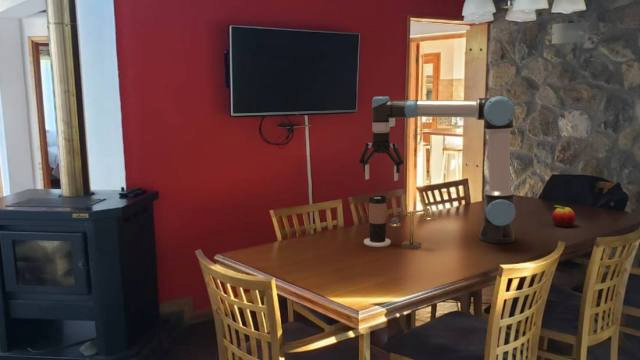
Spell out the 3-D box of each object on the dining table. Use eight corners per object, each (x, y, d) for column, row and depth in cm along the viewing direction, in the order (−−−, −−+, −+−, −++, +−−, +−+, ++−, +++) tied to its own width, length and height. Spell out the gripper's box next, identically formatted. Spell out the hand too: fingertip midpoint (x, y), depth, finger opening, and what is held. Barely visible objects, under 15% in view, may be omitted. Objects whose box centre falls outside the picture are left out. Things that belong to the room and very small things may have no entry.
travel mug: (385, 243, 250) (385, 198, 247) (368, 242, 252) (368, 198, 249) (386, 238, 258) (386, 195, 254) (369, 238, 259) (369, 195, 256)
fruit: (568, 229, 273) (569, 209, 271) (547, 226, 281) (548, 206, 280) (579, 226, 280) (580, 206, 278) (557, 222, 288) (558, 203, 286)
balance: (436, 248, 245) (436, 207, 243) (432, 251, 240) (432, 210, 237) (391, 243, 255) (391, 203, 252) (386, 246, 249) (387, 206, 247)
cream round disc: (394, 241, 257) (394, 238, 257) (384, 248, 247) (384, 245, 247) (369, 238, 263) (369, 236, 263) (359, 245, 252) (359, 242, 252)
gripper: (411, 131, 247) (411, 179, 250) (358, 131, 258) (358, 177, 261) (405, 132, 240) (405, 182, 243) (351, 132, 251) (352, 179, 254)
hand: (381, 179), depth 252 cm, fingers open, 13 cm apart
